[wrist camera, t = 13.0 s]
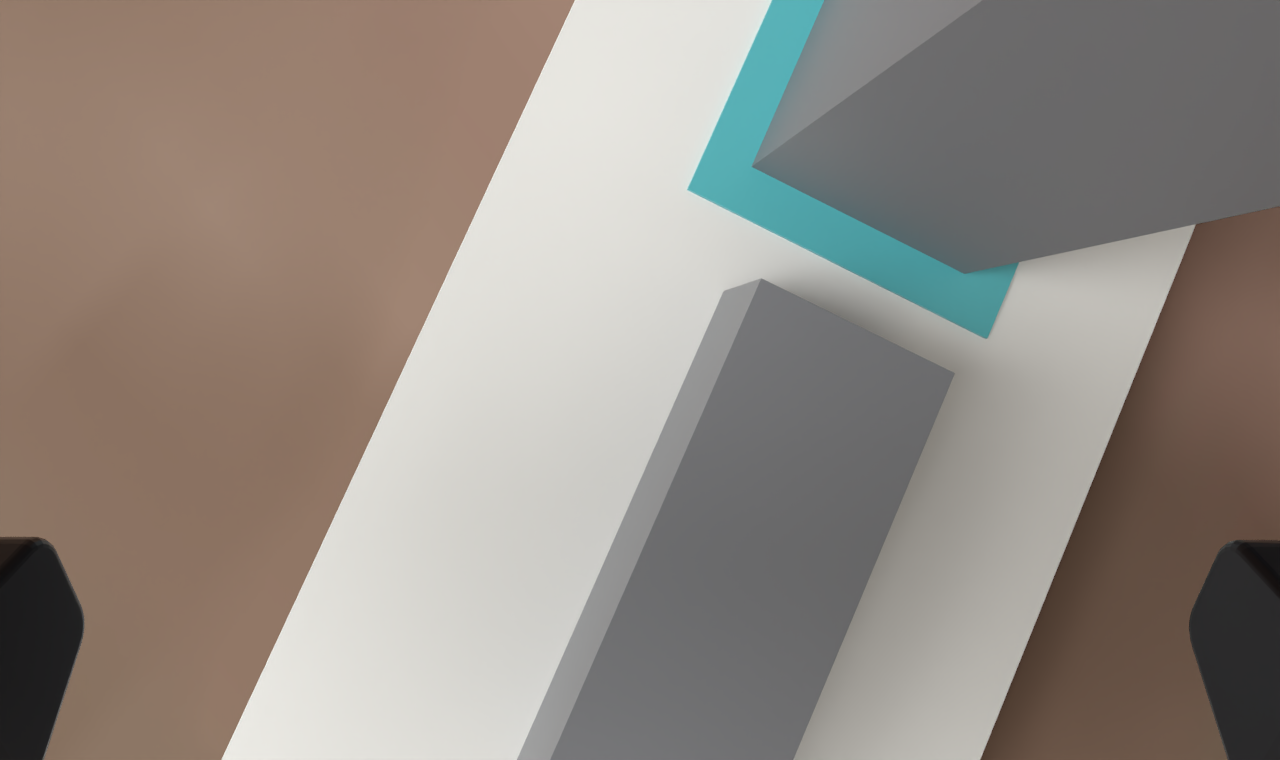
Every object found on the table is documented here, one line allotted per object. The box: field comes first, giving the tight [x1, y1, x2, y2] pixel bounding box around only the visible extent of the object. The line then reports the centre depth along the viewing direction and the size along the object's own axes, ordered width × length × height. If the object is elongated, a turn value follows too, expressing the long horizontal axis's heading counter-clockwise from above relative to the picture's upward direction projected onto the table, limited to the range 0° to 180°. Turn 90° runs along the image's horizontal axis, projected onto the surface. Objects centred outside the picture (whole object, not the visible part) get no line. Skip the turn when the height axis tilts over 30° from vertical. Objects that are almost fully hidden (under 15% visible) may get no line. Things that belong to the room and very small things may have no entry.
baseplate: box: [222, 0, 1196, 760], centre depth 20 cm, size 22×14×4 cm, turn 155°
